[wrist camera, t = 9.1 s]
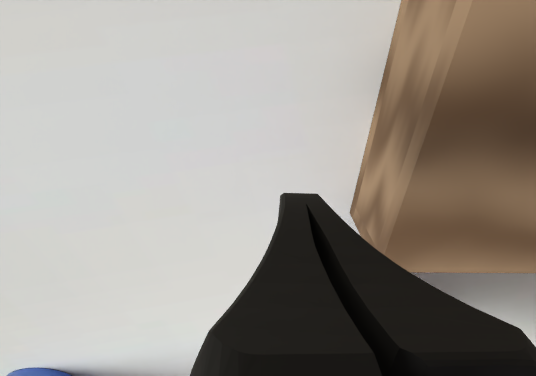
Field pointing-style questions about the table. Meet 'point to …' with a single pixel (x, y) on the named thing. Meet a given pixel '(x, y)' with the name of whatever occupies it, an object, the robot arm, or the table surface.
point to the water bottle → (37, 372)
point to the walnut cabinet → (454, 140)
